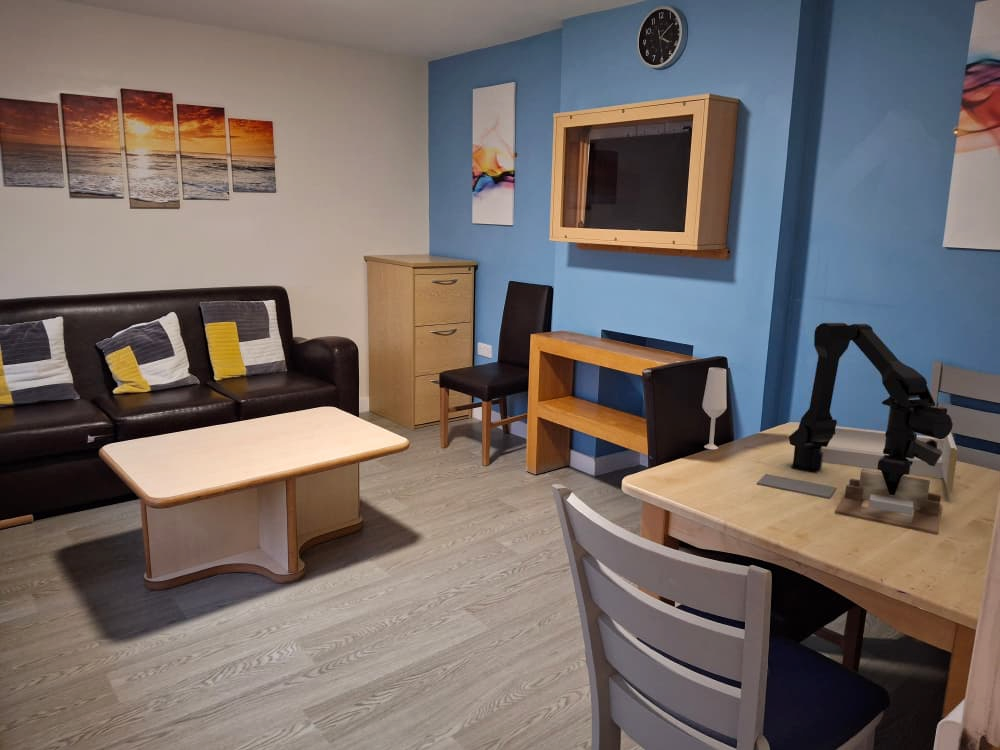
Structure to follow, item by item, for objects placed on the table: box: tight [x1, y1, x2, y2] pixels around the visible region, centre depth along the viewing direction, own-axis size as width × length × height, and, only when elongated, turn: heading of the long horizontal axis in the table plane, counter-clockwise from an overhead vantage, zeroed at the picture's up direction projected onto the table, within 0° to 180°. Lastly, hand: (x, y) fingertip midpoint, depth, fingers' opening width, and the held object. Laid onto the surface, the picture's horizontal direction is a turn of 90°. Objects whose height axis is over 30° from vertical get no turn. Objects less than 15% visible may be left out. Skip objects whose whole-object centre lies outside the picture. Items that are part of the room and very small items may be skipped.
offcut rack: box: [834, 478, 943, 535], centre depth 165 cm, size 20×20×4 cm
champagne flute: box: [701, 367, 727, 450], centre depth 208 cm, size 7×7×24 cm
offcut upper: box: [869, 494, 913, 515], centre depth 159 cm, size 8×4×2 cm, turn 60°
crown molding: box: [821, 425, 944, 478], centre depth 195 cm, size 31×12×4 cm
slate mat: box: [756, 473, 837, 500], centre depth 180 cm, size 17×9×1 cm, turn 56°
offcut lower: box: [860, 500, 914, 524], centre depth 160 cm, size 10×5×2 cm, turn 56°
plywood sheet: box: [859, 468, 931, 510], centre depth 168 cm, size 14×3×6 cm, turn 57°
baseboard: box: [942, 431, 958, 492], centre depth 184 cm, size 31×3×12 cm, turn 151°
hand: (892, 492), depth 168 cm, fingers closed on plywood sheet, 3 cm apart
